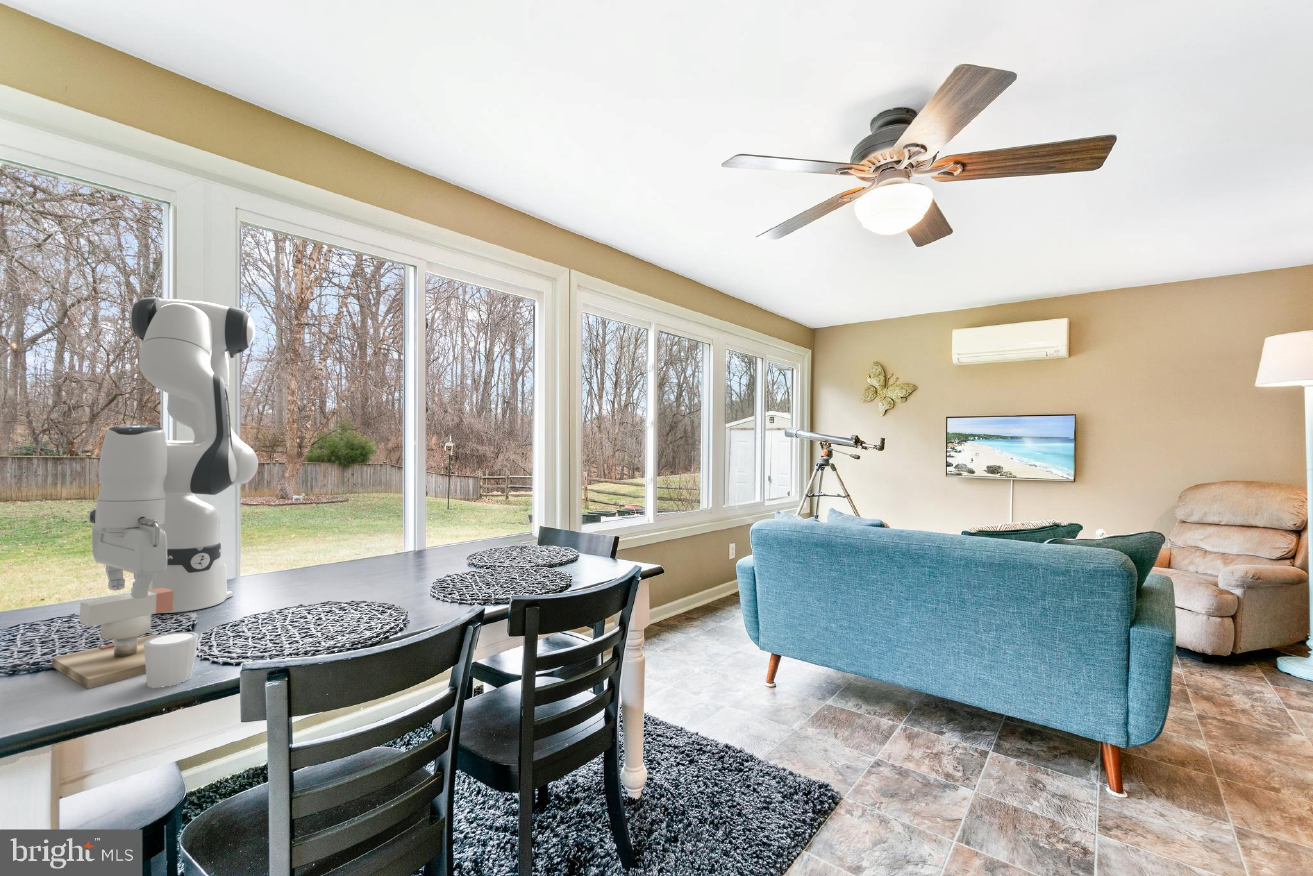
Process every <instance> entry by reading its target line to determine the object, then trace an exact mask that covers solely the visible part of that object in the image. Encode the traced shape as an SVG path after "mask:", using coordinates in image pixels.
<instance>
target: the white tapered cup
mask: <svg viewBox="0 0 1313 876" xmlns="http://www.w3.org/2000/svg"><path fill="white" fill-rule="evenodd" d="M198 640H199V634H198V633H197V632H193V631H179V632H172V633H167V634H161V635H158V636H157V637H153V638H151V639H149V640H147V641H145V642H144V652H145V665H146V673H145V675H146V677H145V678H146V685H147V687H148V686H150V687H149V688H152V687H162V686H169V687H171V686H170V685H173V686H177V685H179V684H178V683H180V684H182V683H181V682H183V681H186V680H187V681H189V680H191V678H192V677H193V674H194V667H195V660H196V655H197V654H196V653H197V649H198V648H197V647H198V642H199V641H198ZM188 679H189V680H188ZM187 681H186V682H187ZM183 683H184V682H183ZM176 684H177V685H176ZM162 688H163V687H162Z"/></svg>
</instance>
